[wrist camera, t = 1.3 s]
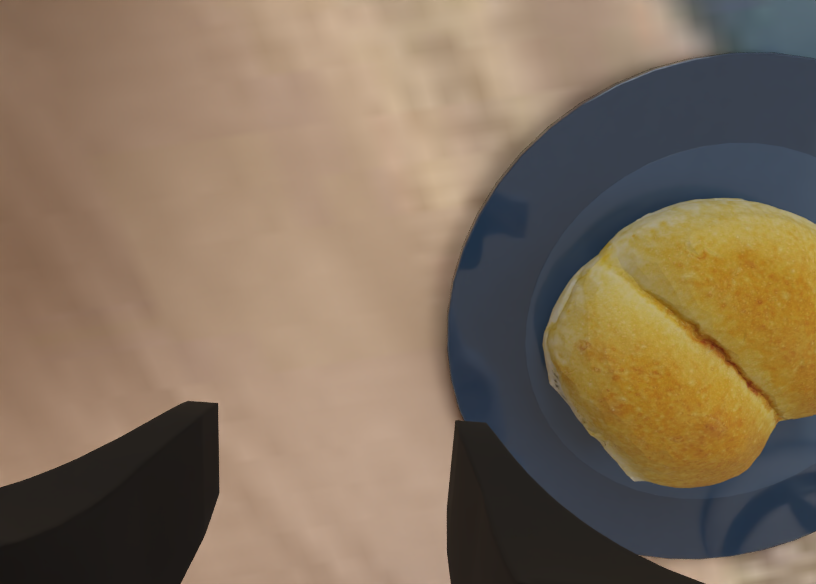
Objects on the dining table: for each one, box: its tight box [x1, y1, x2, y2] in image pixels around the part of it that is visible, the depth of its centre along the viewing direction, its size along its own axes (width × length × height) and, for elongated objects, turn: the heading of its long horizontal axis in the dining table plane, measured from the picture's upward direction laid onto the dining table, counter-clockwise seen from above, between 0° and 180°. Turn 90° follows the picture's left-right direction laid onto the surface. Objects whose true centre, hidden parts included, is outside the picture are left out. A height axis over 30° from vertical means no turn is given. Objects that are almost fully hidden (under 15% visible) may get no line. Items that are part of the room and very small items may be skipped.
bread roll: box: [542, 198, 816, 488], centre depth 21 cm, size 8×9×4 cm
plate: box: [447, 53, 816, 559], centre depth 23 cm, size 17×17×1 cm
